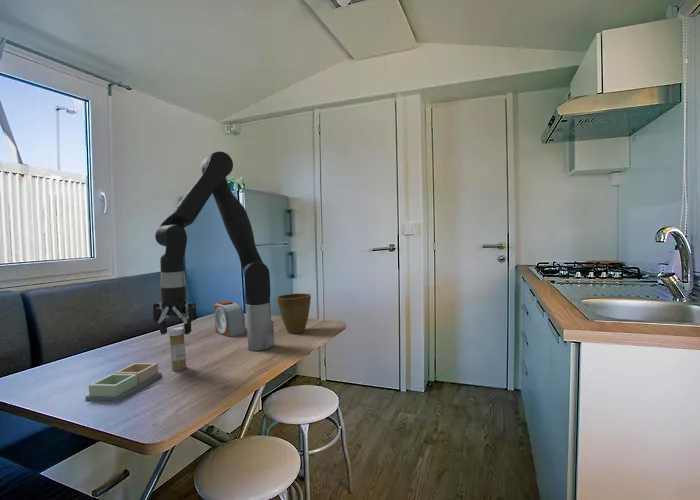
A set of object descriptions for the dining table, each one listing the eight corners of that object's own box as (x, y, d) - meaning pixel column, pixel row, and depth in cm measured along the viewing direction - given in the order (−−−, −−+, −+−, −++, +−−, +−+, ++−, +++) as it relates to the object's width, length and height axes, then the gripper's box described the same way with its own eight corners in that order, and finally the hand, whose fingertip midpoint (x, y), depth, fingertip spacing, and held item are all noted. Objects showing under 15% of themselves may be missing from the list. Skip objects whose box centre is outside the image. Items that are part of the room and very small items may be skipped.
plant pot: (318, 328, 168) (316, 293, 168) (301, 337, 155) (299, 299, 154) (290, 326, 175) (289, 292, 174) (271, 334, 161) (269, 298, 160)
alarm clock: (213, 331, 171) (211, 302, 171) (231, 327, 177) (229, 299, 176) (227, 337, 160) (225, 306, 160) (245, 333, 166) (244, 303, 165)
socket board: (161, 375, 118) (160, 363, 118) (118, 401, 100) (117, 386, 100) (133, 374, 119) (132, 362, 119) (85, 400, 102) (84, 385, 101)
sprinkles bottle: (186, 365, 126) (183, 326, 126) (186, 369, 122) (184, 329, 122) (171, 367, 125) (168, 328, 124) (171, 372, 120) (168, 331, 120)
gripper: (199, 283, 125) (201, 331, 126) (161, 284, 127) (163, 330, 128) (186, 286, 118) (188, 337, 118) (146, 287, 120) (148, 336, 121)
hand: (175, 333), depth 123 cm, fingers open, 8 cm apart
